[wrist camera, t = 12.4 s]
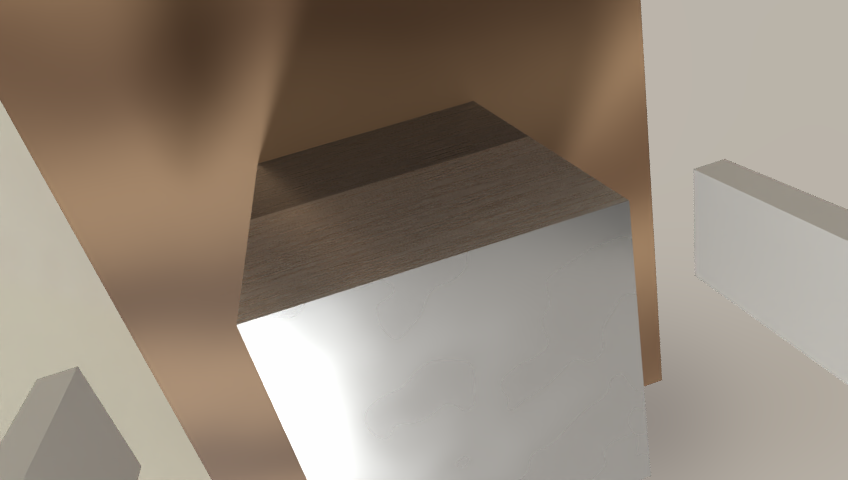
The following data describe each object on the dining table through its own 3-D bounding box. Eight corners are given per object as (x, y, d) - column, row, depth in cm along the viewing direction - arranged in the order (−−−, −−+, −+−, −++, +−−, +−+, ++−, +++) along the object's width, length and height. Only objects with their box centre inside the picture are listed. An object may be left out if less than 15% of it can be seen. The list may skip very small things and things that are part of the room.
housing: (257, 163, 15) (236, 325, 8) (473, 100, 16) (628, 200, 9) (326, 344, 18) (355, 585, 11) (509, 285, 19) (650, 476, 11)
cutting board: (-20, -34, 14) (-76, -36, 12) (580, -179, 16) (628, -204, 14) (242, 473, 22) (238, 528, 20) (626, 342, 24) (661, 380, 22)
